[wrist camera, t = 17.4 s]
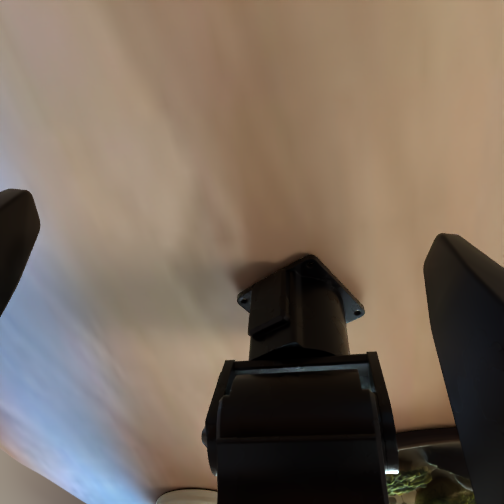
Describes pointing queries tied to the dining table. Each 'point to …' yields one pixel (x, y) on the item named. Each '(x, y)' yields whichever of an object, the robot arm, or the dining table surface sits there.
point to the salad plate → (430, 469)
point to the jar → (189, 497)
